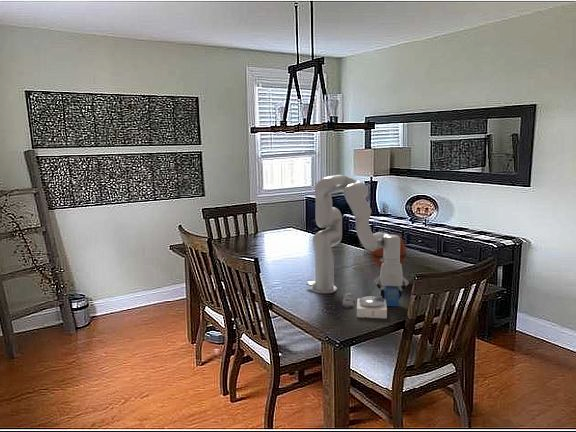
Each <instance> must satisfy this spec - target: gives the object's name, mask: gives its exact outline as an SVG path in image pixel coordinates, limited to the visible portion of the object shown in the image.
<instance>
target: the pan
mask: <svg viewBox="0 0 576 432" xmlns="http://www.w3.org/2000/svg"><path fill="white" fill-rule="evenodd" d="M359 302H360V303H361V304H362V305H365V306H371V307H375V306H381V305H383V304H384V300H383V298H382V297H381V296H380V297H379V296H376V295H375V296H374V295H368V296H367V295H366V296H362V297H360V300H359Z"/></svg>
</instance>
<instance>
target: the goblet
mask: <svg viewBox="0 0 576 432" xmlns="http://www.w3.org/2000/svg"><path fill="white" fill-rule="evenodd" d="M385 233H386V232H385ZM386 234H389V235H398V236H399V237H400V264H401V265H403V263H404V262H405V261H406V258H407V248H406V245H405V242H404V239H403V236H402V234H400V233H397V232H395V233H393V232H387V233H386ZM369 252H370V253H369V254H370V258H371V260H372V261H373V263H374V265H377V267H379V268H380V269H381V266H382V263H383V262H382V261H380V259H382V258H383V253H384V248H380V249H377V250H375V251H369Z"/></svg>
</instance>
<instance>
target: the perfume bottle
mask: <svg viewBox="0 0 576 432" xmlns="http://www.w3.org/2000/svg"><path fill="white" fill-rule="evenodd" d="M383 289H384V298H382V299H386V306H397V307H400V299H399V292H398V288H397V286H384V288H383Z"/></svg>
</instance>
